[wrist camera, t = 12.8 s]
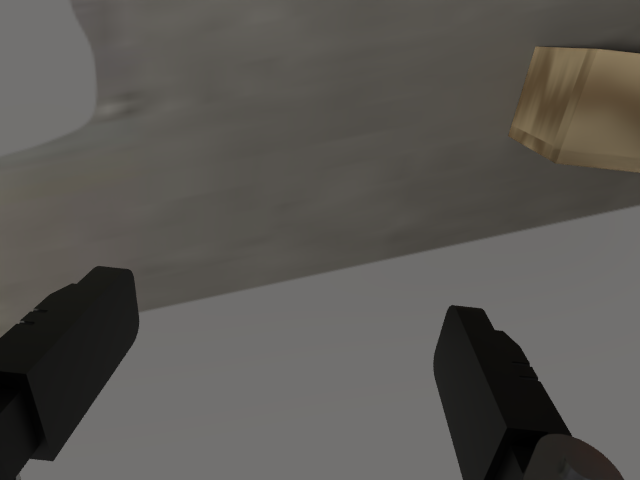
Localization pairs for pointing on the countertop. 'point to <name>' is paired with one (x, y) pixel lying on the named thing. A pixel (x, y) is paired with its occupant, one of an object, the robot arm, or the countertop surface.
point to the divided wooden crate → (582, 108)
